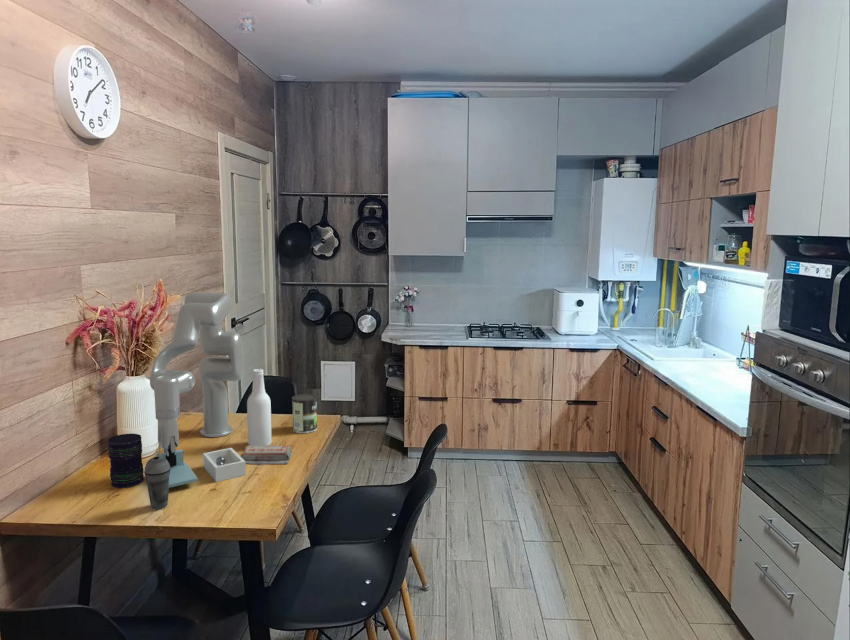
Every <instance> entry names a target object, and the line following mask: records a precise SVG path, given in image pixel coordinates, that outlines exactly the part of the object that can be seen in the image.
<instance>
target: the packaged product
mask: <svg viewBox="0 0 850 640" xmlns="http://www.w3.org/2000/svg"><path fill="white" fill-rule="evenodd" d="M291 447H292V446H291V445H269V446H256V445H255V446H253V445H250V446H249V445H246V446H245V448H244V450H243V453H242V455H240V457H241V458H242V459H243V460H245V464H246V465H288V464H289V462H290V460H291V457H292V456H293V451H292V448H291Z"/></svg>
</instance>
